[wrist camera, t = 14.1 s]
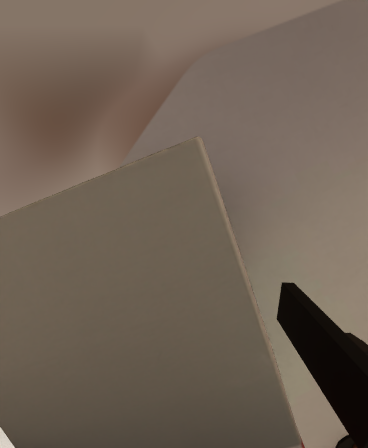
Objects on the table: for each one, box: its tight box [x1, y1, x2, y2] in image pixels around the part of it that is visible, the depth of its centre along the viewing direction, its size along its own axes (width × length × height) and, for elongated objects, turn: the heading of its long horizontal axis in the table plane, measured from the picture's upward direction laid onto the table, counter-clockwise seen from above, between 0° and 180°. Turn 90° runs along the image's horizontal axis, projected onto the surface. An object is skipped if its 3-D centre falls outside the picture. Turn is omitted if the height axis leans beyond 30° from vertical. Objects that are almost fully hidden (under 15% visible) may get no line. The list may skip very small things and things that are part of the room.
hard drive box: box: [0, 137, 305, 448], centre depth 15 cm, size 16×8×20 cm, turn 20°
